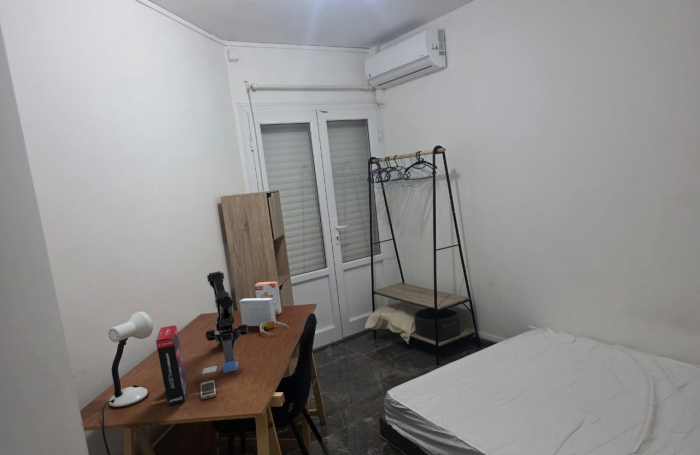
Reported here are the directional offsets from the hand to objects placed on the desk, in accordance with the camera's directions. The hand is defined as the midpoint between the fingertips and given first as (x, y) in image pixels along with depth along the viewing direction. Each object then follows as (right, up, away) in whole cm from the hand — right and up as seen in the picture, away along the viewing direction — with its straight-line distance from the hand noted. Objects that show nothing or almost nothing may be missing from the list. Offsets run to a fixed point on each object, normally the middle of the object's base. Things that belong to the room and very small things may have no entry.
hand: (228, 349), depth 185 cm
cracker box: (+4, -1, +78) cm, 78 cm away
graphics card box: (-15, -13, -19) cm, 27 cm away
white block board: (-4, -10, +1) cm, 10 cm away
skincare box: (+1, -3, +59) cm, 59 cm away
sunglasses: (+13, -4, +45) cm, 46 cm away
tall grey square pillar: (0, -6, +2) cm, 7 cm away
